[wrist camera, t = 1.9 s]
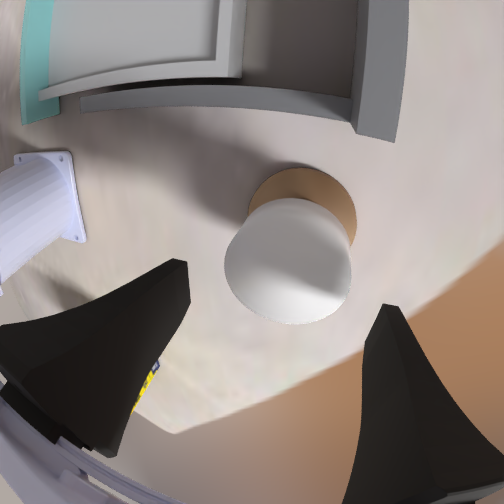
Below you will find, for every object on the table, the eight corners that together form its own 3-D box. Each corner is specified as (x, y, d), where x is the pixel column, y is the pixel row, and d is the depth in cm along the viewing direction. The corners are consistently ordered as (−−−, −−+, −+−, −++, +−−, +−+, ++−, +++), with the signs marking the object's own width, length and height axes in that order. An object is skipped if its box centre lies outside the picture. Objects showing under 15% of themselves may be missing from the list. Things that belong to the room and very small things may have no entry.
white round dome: (237, 284, 15) (223, 309, 13) (241, 188, 12) (225, 207, 11) (336, 305, 14) (333, 333, 12) (363, 211, 11) (366, 233, 10)
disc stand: (247, 253, 18) (229, 288, 15) (254, 159, 15) (232, 179, 12) (342, 273, 17) (341, 312, 14) (366, 179, 14) (374, 204, 11)
